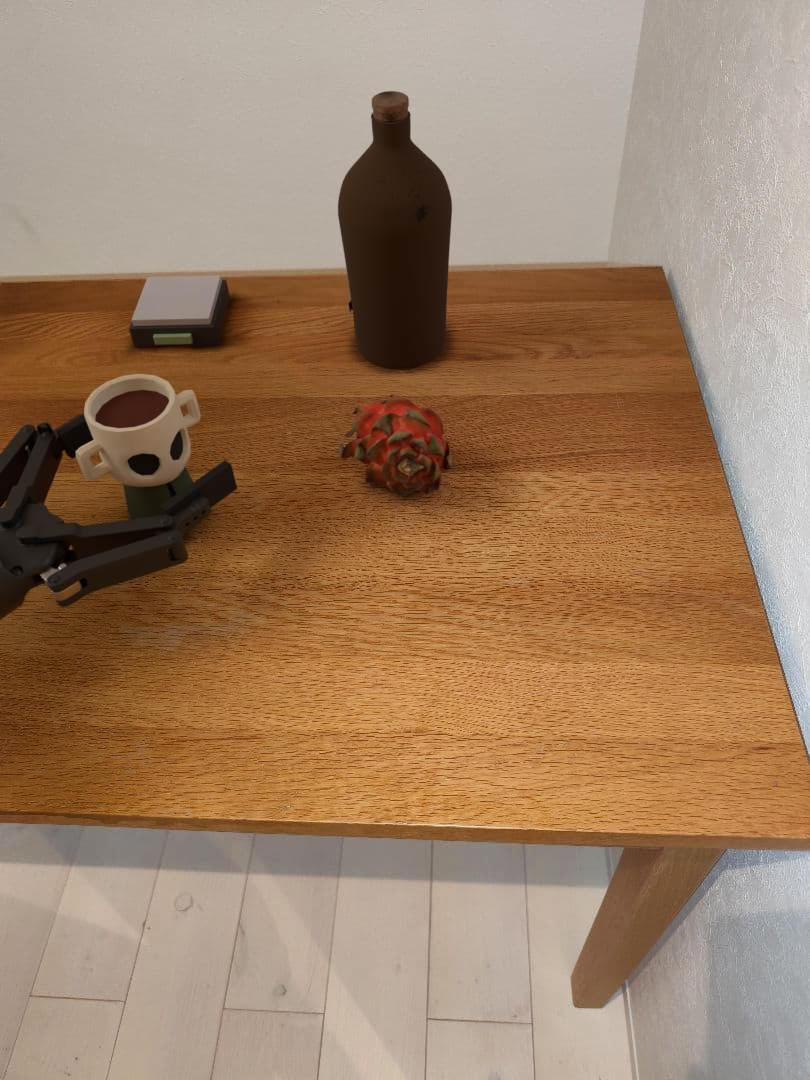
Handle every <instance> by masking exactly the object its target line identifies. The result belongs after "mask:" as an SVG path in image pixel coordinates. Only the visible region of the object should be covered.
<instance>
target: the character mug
mask: <svg viewBox="0 0 810 1080" xmlns="http://www.w3.org/2000/svg"><path fill="white" fill-rule="evenodd" d="M184 405H186V408H187V414H186V415H183V412H182V409H181V407H182V406H184ZM83 413H84V416H85V419H86V422H87V424H88V427H89V429H90V432H91V434H92V437H93V440H92V441H90V442H89V443H87V444H85V445H83V446H81V447H80V448H79V449H78V450H76V457H75V458H76V462H77V464H78V466H79V469H80V471H81V473H82V475H83V478H84V479H85V480H86V481H87V482H94V481H97V480H99V479H100V478H103V477H104V476H106V475H109V476H110V477H112V478H113V479H114V480H115V481H117V482H119V483H120V484H122V487H123V490H124V491H123V492H124V497H125V503H126V508H127V513H128V517H129V519H137V518H144V517H152V516H159V515H163V513H162V510H161V507H160V506H161V505H163V504H164V503H165V502H167V501H168V500H170V499H171V498H172V497H174V496H175V495H177V494H178V493H179V492H181V491H182V490H184V489H185V488H186V487H188V486H189V485H191V484H192V483H194V482H195V481H193V478H192V476H191V475H190V473H189V470H188V469H187V467H186V466H187V463H188V462H189V460H190V458H191V446H192V443H191V440H190V436H189V432H188V429H189V428H191V427H193V426H195V425H196V424H198V423H199V422H200V421H201V418H202V417H201V416H202V414H201V411H200V407H199V403H198V400H197V396H196V393H195V392H194V390H193V389H185V390H183V391H181V392H179V393H176V391H175V389H174V388H173V387H172V385H171V383H170V382H169V381H168V380H166V379H164V378H161V377H159V376H157V375H155V374H147V373H146V374H145V373H135V374H126V375H122V376H121V375H120V376H118V377H116V378H112V379H110V380H107V381H105V382H104V383H102V384H101V385H99V386H98V387H96V388H95V389H94V390H93V391H92V392H91V393H90V395H89V396H88V398H87V399H86V401H85V402H84V409H83ZM97 453H98V455H99V457H100V460H101V462H99V463H98V464H96V465H94V464H93V462H92V460H91V457H92V456H94V455H96V454H97ZM155 534H160V531H158V532H155Z"/></svg>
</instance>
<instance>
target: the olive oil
mask: <svg viewBox="0 0 810 1080" xmlns="http://www.w3.org/2000/svg"><path fill="white" fill-rule="evenodd" d="M409 100H410V99H409V96H408V95H407V94H405V93H404V92H401V91H396V90H389V91H382V92H379V93H377V94H375V95H373V97H372V98H371V108H372V113H371V115H370V119H371V131H372V142H371V143H370V144H369V146H368V147H367V149H366V150H365V151H364V152H363V153H362V154H361V156H360V157H359V158H357V160H356V161H355V162H354V163H353V165H352V166H351V167H350V168H349V170H348V171H347V172H346V174H345V175H344V177H343V180H342V182H341V186H340V190H339V194H338V201H337V217H338V218H337V219H338V225H339V230H340V236H341V243H342V248H343V254H344V255H343V256H344V261H345V262H344V263H345V268H346V269H345V270H346V275H347V276H346V277H347V284H348V288H349V289H348V290H349V296H350V300H349V302H348V309H349V313H350V314H351V313H352V317H353V325H354V333H355V335H354V336H355V342H356V346H357V350H358V352H359V353H360V355H361V356H362V357H363V358H364V359H365V360H367V361H368V362H370V363H372V364H373V365H376V366H379V367H383V368H387V369H396V370H397V369H400V370H401V369H402V370H403V369H411V368H415V367H419V366H422V365H425V364H428V363H430V362H431V361H432V360H434V359H435V358H437V357H438V356H439V355H440V354H441V353H442V351H443V350H444V347H445V344H446V337H447V336H446V334H447V305H448V304H447V303H448V286H449V285H448V283H449V268H450V267H449V266H450V265H449V263H450V262H449V261H450V248H451V247H450V246H451V233H452V232H451V231H452V218H453V217H452V215H453V201H452V194H451V191H450V188H449V183H448V181H447V179H446V176H445V175H444V173H443V171H442V169H440V167H439V166H438V165H437V164H436V163H435V161H433V160H432V158H430V157H429V156H428V155H427V154H426V153H425V152H424V151H423V150H422V149H420V148H419V147H418V145H416V144H415V143H414V142H413V140H412V138H411V132H412V131H411V130H412V129H411V112H410V111H409V106H410V103H409V102H410V101H409Z"/></svg>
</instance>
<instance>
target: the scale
mask: <svg viewBox="0 0 810 1080" xmlns="http://www.w3.org/2000/svg"><path fill="white" fill-rule="evenodd" d="M230 295H231V294H230V291H229V286H228V282H227V279H223V278H222V275H221V274H220V275H218V274H217V275H213V274H212V275H174V276H172V275H171V276H147V277H146V280H145V282H144V285H143V289H142V290H141V294H140V297H139V298H138V301H137V303H136V307H135V309H134V311H133V315H132V317H131V322H130V325H129V327H128V330H129V333H130V337H131V340H132V343H133V347H134V348H168V347H169V348H170V347H173V348H174V347H213V346H215V347H217V346H219V343H220V339H221V335H222V331H223V327H224V323H225V319H226V316H227V311H228V307H229V303H230V299H231V297H230Z"/></svg>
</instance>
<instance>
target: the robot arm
mask: <svg viewBox="0 0 810 1080" xmlns="http://www.w3.org/2000/svg"><path fill="white" fill-rule="evenodd" d="M92 440H93V437H92V434H91V432H90V429H89V427H88V424H87V422H86V419H85V416H84V412H83V413H81V414H77V415H75V416H74V417H73V418H71V419H69V420H68V421H65V422H64V423H62V424H61V425H59V426H57V427H56V428H54V429H53V427H52V425H51V423H49V422H45V421H44V422H41V423H39V424H37V425H36V426H35V425H33V424H25V425H23V426H22V427H21V428H20V429H19V430H18V431H17V433H15V435H14V436H13V437H12V439H11V440H10V441H9V442H8V444H7V445H5V447H4V449H3V450H2V451H1V452H0V621H1V620H3V619H5V618H6V617H7V616H9V615H10V614H11V613H13V612H15V611H16V610H17V609H18V608H20V607H22V605H23V604H24V603H25V599H26V596H27V595H28V593H29V592H30V591H31V590H32V589H34V588H36V587H40V586H43V585H46V587H47V589H49V591H50V592H51V594H52V596H53V597H54V600H55V602H56V605H58V607H61V608H67V607H69V606H72V605H73V604H74V603H76V602H78V601H79V600H81V599H83V598H84V597H86V596H87V595H89V594H90V593H94V592H97V591H101V590H103V589H106V588H109V587H113V586H116V585H120V584H121V583H125V582H128V581H132V580H134V579H139V578H141V577H144V576H147V575H150V574H153V573H157V572H160V571H163V570H166V569H169V568H173V567H176V566H178V565H179V566H180V565H182V564H184V563H186V562H187V561H188V559H189V554H188V551H187V548H186V545H185V541H184V539H183V537H184V536H185V535H186V534H188V532H190V531H192V530H193V528H195V527H197V525H199V524H201V523H202V522H203V521H204V520H206V519H207V518H209V516H210V515H211V513H212V512H213V511H212V508H213V507H214V506H216V505H217V504H218V503H220V502H221V501H222V500H224V499H225V498H226V497H228V496H230V495H231V494H232V493H233V492H235V490H238V486H237V482H236V478H235V474H234V470H233V465H232V463H231V462H229V461H227V460H223V461H221V462H220V463H218V464H217V465H216V466H215V467H213V468H211V469H210V470H209V471H208V472H206V473H205V474H203V475H202V476H200V477H199V478H198V479H196V480H195V481H193V482H194V483H192V484H191V485H189V486H188V487H186V488H185V489H184V490H182V491H181V492H179V493H178V494H177V495H175V496H174V497H172V498H171V499H170V500H168V501H167V502H165V503H164V504H163V505H161V506H160V507H161V510H162V513H163V515H159V516H152V517H144V518H137V519H130V518H129V519H122V520H113V521H108V522H99V523H93V524H86V525H81V524H79V523H78V522H74V521H71V522H65V520H64V519H63V518H62V517H60V516H59V515H57V514H55V513H52V512H50V511H49V509H48V507H47V505H46V504H45V503H46V500H47V497H48V494H49V492H50V489H51V487H52V485H53V482H54V479H55V476H56V474H57V472H58V470H59V467H60V464H61V461H62V459H63V456H64V452H65V454H66V456H67V457H68V458H70V459H71V460H73V459H75V458H76V450H78V449H79V448H80V447H81V446H83V445H85V444H87V443H89V442H90V441H92ZM26 447H27V448H26ZM158 531H160V534H155V532H158ZM70 547H72V549H70Z"/></svg>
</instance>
